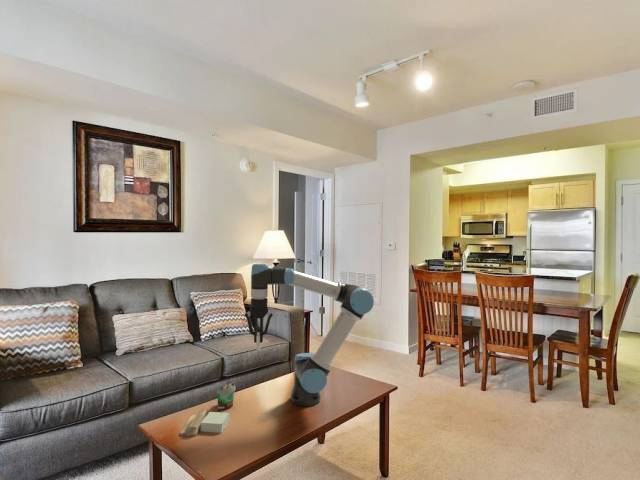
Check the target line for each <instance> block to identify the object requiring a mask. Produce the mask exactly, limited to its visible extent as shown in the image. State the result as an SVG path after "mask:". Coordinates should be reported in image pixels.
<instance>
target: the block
mask: <svg viewBox="0 0 640 480" xmlns="http://www.w3.org/2000/svg"><path fill="white" fill-rule="evenodd" d="M229 423H230V412H218V411H209V412H208V413H207V416H206V417H205V418H204V419H203V421H202V422H201V428H200V433H201V432H205V433H220V434H222V433H223V432H224V430H225V429H226V427H227V426H228V424H229Z"/></svg>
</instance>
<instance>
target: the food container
mask: <svg viewBox="0 0 640 480" xmlns="http://www.w3.org/2000/svg"><path fill="white" fill-rule="evenodd" d="M236 389H237V388H236V385H235V383H234V382H233V381H230V380H228V381H227V383H226V384H225V385H223V386H221V388H220V389H217V391H216V395H217V397H216V398H217V410H218V411H225V410H226V411H227V410H230V409H231V408H232V407H233V406H234V398H235V391H236Z"/></svg>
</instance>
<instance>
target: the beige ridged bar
mask: <svg viewBox="0 0 640 480" xmlns="http://www.w3.org/2000/svg"><path fill="white" fill-rule="evenodd" d="M207 410H208V409H205V408H204V409H201V408H200V409H199V410H198V411H197V414H192V415H191V416H190V417H189V418H188V420H187V422H186V424H185V425H184V427H183V428H182V430H181V431H180V434H179V436H182V437H183V436H184V437H185V436H188V437H189V436H192V437H194V436H195V437H196V436H197V435H198V434H199V431H201V422H202V421H203V419H204V418H205V417H206V416H207V415H208V413H207V412H208V411H207Z"/></svg>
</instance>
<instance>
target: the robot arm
mask: <svg viewBox="0 0 640 480" xmlns="http://www.w3.org/2000/svg"><path fill="white" fill-rule="evenodd" d="M250 272H251V273H250V276H251V277H250V285H251V286H250V297H251V298H250V308H249V311H247V312H245V313H244V316H245V318H246V321H247V327H248V330H249V334H250V335H251V336H253V343H255V350H256V351H261V344H262V343H263V342H264V341H263V340H264V336H265V335H267V333H268V331H269V326H270V323H271V322H270V321H271V318H273V315H274V313H273V312H270V310H269V308H268V303H269V302H268V295H269V293H268V291H269V290H268V287H269V285H280V286H281V285H282V286H283V285H285V286H291V287H295V288H299V289H302V290H306V291H308V292H312V293H315V294H317V295H318V294H319V295H322V296H326V297H329V298H332V300H333V301H334V302H335V301H336V302H339V303H341V305H340V312H339V314H338V316H337V317H336V319H335V321H334V323H332V325H331V328H329V331H328V332H327V334H326V335H325V337H324V339H323V341H322V342H321V344H319V346H318V348H317V350H316V352H315V353H312V352H302V353H298V354H297V353H296V354H295V356H294V360H293V361H294V373H293V374H294V377H293V379H294V380H293V381H294V382H293V386H292V389H291V393H290V401H291V403H292V404H294V405H296V406H301V407H311V406H314V405H317V404H320V402H321V398H322V397H321V392H322V391H323V390H324V389H325V388H326V385H327V383H328V378H327V377H328V376H329V374H330V372H331V371H332V370H331V364H332V362H333V361H334V359H335V357H336V356H337V354H338V353H339V350H340V349H341V347H342V346H343V344H344V342H345V341H346V339H347V337H348V335H349V334H350V333H351V331H352V329H353V327H354V326H355V324H356V322H357V321H360V320H362V319H363V317H364V316H365V314H367V313H369V312H370V311H371V310H373V307H374V302H375V301H374V296H373V295H372V292H371V291H369V290H368V289H366V288H364V287H361V286H359V285H355V284H350V283H349V284H348V283H343V282H340V281H337V282H333V281H330V280H326V279H324V278H320V277H317V276H314V275H313V276H312V275H310V274H306V273H303V272H299V271H296V270H294V268H290V267H284V266H281V265H274V266H272V267H271V268H270V267H269V264H268V263H253V264H252V265H251V271H250ZM266 315H267V320H266V323H265V326H264V318H265V317H266ZM251 316H252V317H253V318H254V319H253V321H254V324H253V323H252V319H251ZM258 321H259V322H258ZM258 323H259V334H258Z"/></svg>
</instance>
